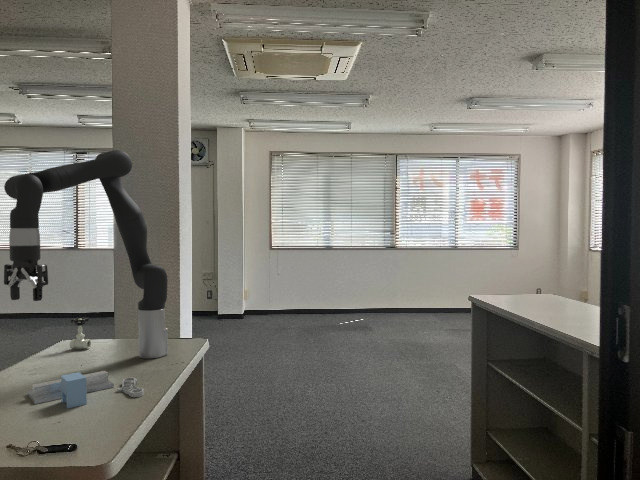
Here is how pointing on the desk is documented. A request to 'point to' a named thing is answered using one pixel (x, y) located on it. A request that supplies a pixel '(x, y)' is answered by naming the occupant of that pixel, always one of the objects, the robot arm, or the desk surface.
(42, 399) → the din rail
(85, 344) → the valve
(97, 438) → the desk surface
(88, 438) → the desk surface
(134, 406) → the desk surface
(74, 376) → the block
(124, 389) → the bracket
